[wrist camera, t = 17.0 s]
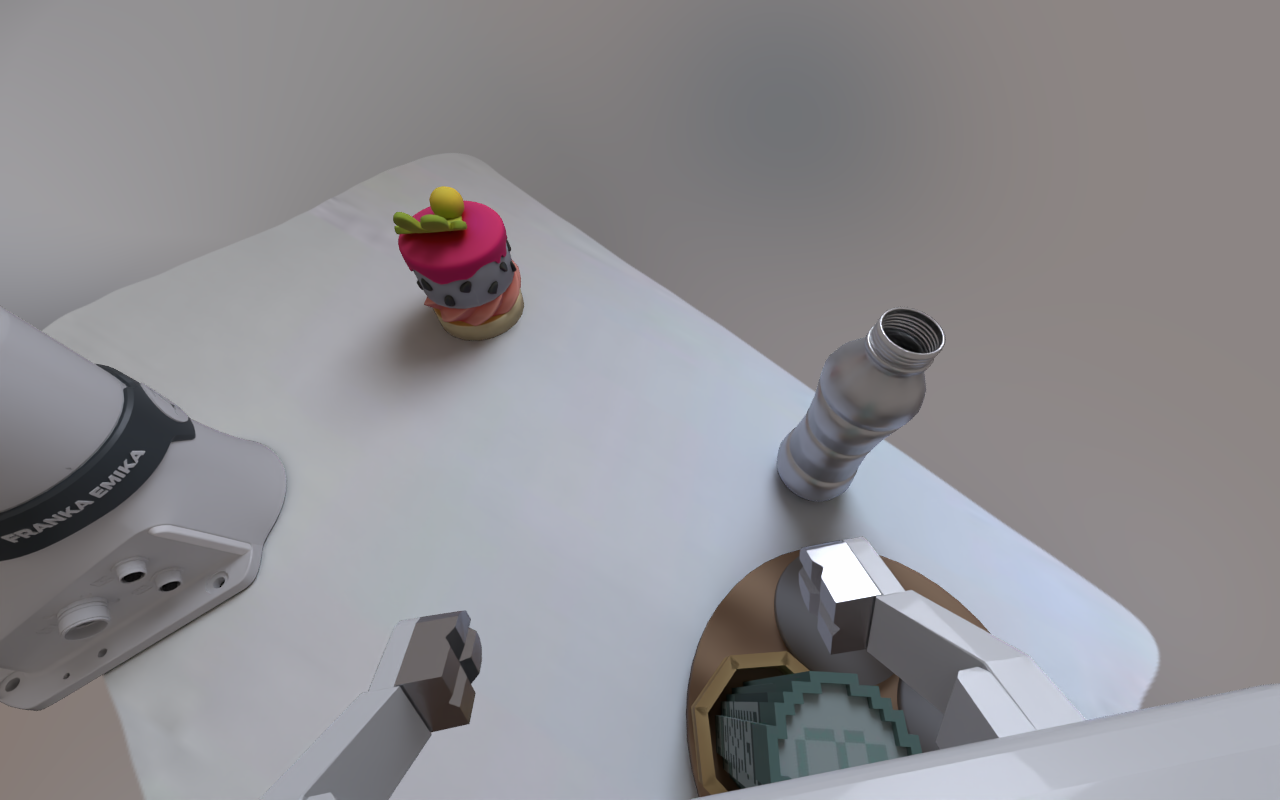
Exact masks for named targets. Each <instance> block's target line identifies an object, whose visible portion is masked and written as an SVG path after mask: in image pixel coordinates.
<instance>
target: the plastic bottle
mask: <svg viewBox="0 0 1280 800" xmlns="http://www.w3.org/2000/svg"><path fill="white" fill-rule="evenodd" d="M945 340H946V339H945V334H944V331H943V329H942V328H941V326H940V325H939V324H938V323H937V322H936V321H935V320H934V319H933V318H932V317H930V316H929V315H927V314H926V313H924V312H921V311H919V310H916V309H913V308H908V307H896V308H892V309H889V310H887V311H886V312H885V313H883V315H882V316H881V317H880V318H879V320H878V321H877V323H876V324H875V325H874V326H873V327H871V329H870V330H869V332H868V333H867V335H866V337H864V338H860V339H857V340H853V341H850V342H847V343H845V344H844V345H842V346H841V347H839V348H838V349H837V350H836V351H834V352H833V353H832V354H831V355H830V356H829V357H828V359H827V360H826V362H825V365H824V367H823V369H822V372H821V376H820V379H819V382H818V386H817V389H816V393H815V396H814V398H813V400H812V403H811V405H810V408H809V409H808V411H807V414H806V415H805V416H804V418H803V419H802V420H801V422H800V423H799V424H798V425H797V427H795V428H794V429H793V430H792V431H791V432H790V433H789V434H788V435H787V436H786V437H785V438H784V440H783V441H782V442H781V444H780V447H779V450H778V456H777V469H778V472H779V475H780V477H781V479H782V481H783V482H784V484H785V485H786V486H787V487H788V488H789V489H790V490H791V491H792V492H793V493H795V494H796V495H798V496H800V497H802V498H804V499H807V500H810V501H818V502H820V501H827V500H830V499H833V498H835V497H837V496H838V495H840V494H842V493H843V492H845V491H846V490H847V489H848V488H849V486H850V484H851V482H852V480H853V479H854V477H855V475H856V472H857V469H858V467H859V466H860V464H861V463H862V461H863V460H864V458H865V457H866V455H867V454H868V453H869V452H870V451H871V450H872V449H873V448H874V447H875V446H876V445H877V444H879V443H880V442H881V441H882V440H883V439H885V438H886V437H887V436H889V435H890V434H892V433H893V432H895V431H896V430H898V429H899V428H901V427H902V426H903V425H905V424H906V423H907V422H909V421H910V420H911V419H912V418H913V417H914V416H915V415H916V414H917V413H918V412H919V410H920V408H921V406H922V403H923V400H924V397H925V392H926V383H925V374H924V371H925V370H927V368H929V366H930V365H931V364H932V363H933V361H934V358H935V357H936V356H937V355H938V353H940V351H941V350H942V348H943V347H944V345H945Z"/></svg>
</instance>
